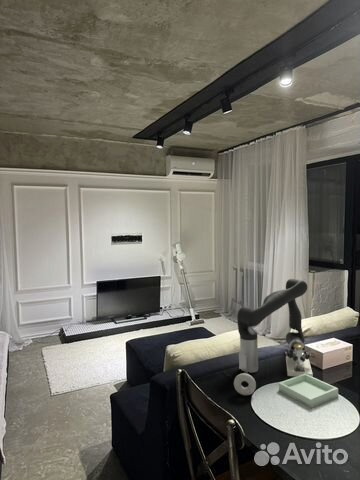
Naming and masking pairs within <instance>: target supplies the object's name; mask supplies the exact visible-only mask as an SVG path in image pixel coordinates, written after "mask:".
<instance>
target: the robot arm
mask: <svg viewBox="0 0 360 480" xmlns="http://www.w3.org/2000/svg"><path fill="white" fill-rule="evenodd" d="M307 290H308V284H307V282H306V281H304V280H302V279H295V278H290V279H288V280H287V281H286V283H285V288H284V289H281V290H276V291H274V292H272V293H270V294H268V295H266V297H264V299H263V302H262V305H260V306H258V307H256V308H251V307H246V306H243V307H241V308H240V309H239V310H238V312H237V318H236V320H237V331H238V334H239V344H240V345H239V347H240V348H239V349H240V350H239V351H238V363H239V365H238V367H239V368H238V369H239V370H240V369H241V371H243V373H246V374H249V373H252V374H253V373H257V372H258V371H259V353H258V352H259V350H258V349H259V348H258V345H259V344H258V332H257V331H256V330H255V329H254V327H257V326H258V325H259V324H260V323H262V321H264V320H265V319H266V318H268V316H270V315H272V314H273V313H274V312H277V311H278V310H279V309H281V308H283V307H284V306H285V305H287V306H288V316H289V317H288V326H289V328H290V329H292V330H295V331H297V332H295V331H293V332H291V331H288V332H287V333H286V335H285V339H286V340H285V341H286V342H287V344H288V345H289V350H288V349H285V350H284V354H285V355H286V356H288V357H289V358H293V360H295V361H296V351H295V348H294V345H295V344H301V345H303V348H302V362H304V361H305V359H309V360H310V358H311V357H312V351H311V350H309V351H306V350H305V345H304V343H305V335H304V332H303V327H302V313H301V310H300V309H299V306H298V303H297V302H296V299H297V298H300V297H302V296H303V295H305V293H307ZM248 372H249V373H248Z"/></svg>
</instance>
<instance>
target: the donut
mask: <svg viewBox="0 0 360 480" xmlns="http://www.w3.org/2000/svg"><path fill="white" fill-rule="evenodd" d="M243 382H246V383H247V384H248V386H246V387H245V386H243V385H242V383H243ZM233 386H234V389H235V391H236V392H237V393H238V394H240V395H242V396H249V395H252V394H253V393H254V392H255V390H256V389H257V388H256V387H257V382H256V380H255V378H254V377H253V376H252V375H250V374H249V373H246V372H243V373H240V374H238V375H236V376H235V378H234V380H233Z"/></svg>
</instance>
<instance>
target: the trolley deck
mask: <svg viewBox="0 0 360 480" xmlns="http://www.w3.org/2000/svg"><path fill="white" fill-rule="evenodd" d="M285 361H286V372H287V377H297V376H300V375H302V374H307V375H309V376H312V377H313V376H314V375H313V374H314V373H313V371H312V367H311V362H310V358H309V359H305V361H304V362H302V372H297V371H296V361H295V360H293V358H289V357H288V356H287V355H286V356H285Z"/></svg>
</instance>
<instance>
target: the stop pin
mask: <svg viewBox="0 0 360 480" xmlns="http://www.w3.org/2000/svg"><path fill="white" fill-rule="evenodd" d="M303 345H304V344H303ZM303 345H301V344H295V345H294V348H295V351H296V371H297V372H302V348H303Z"/></svg>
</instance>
